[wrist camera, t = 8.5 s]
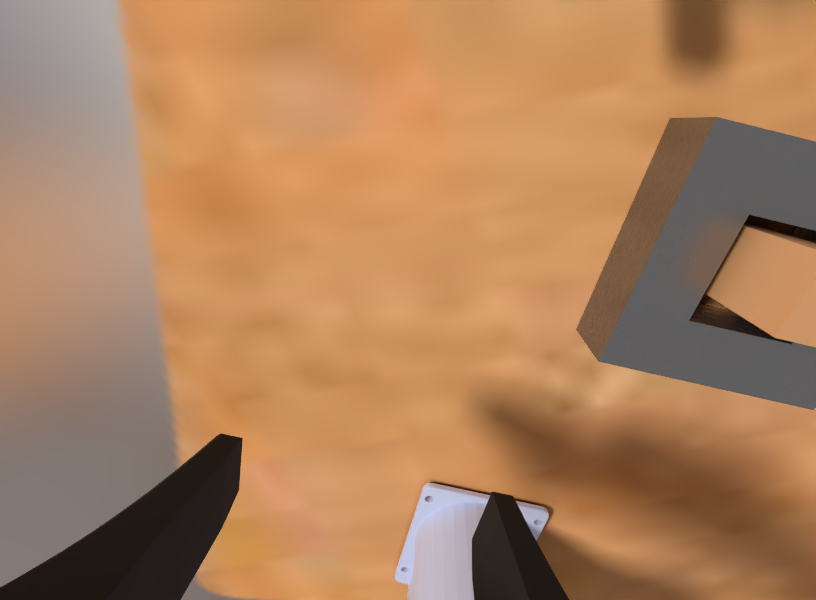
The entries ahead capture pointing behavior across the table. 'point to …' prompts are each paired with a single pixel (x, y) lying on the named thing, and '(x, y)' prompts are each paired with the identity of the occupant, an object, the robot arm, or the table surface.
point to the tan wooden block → (770, 283)
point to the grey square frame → (704, 261)
